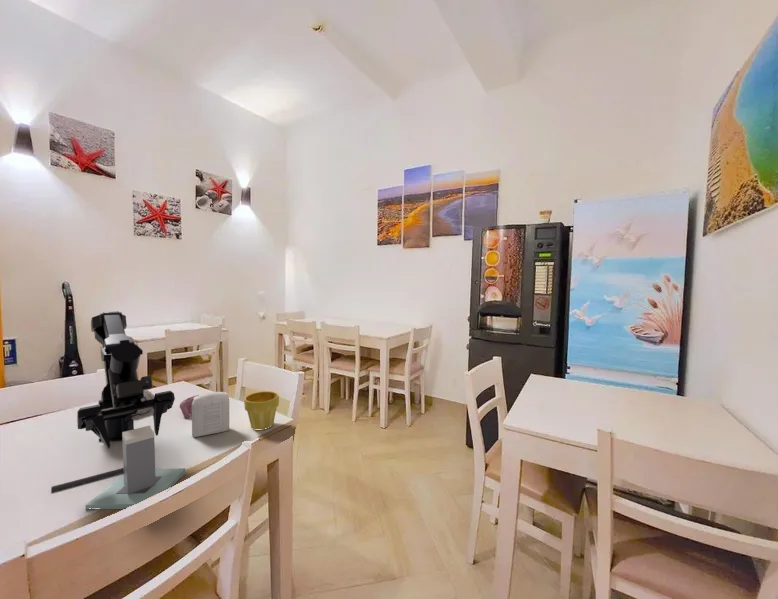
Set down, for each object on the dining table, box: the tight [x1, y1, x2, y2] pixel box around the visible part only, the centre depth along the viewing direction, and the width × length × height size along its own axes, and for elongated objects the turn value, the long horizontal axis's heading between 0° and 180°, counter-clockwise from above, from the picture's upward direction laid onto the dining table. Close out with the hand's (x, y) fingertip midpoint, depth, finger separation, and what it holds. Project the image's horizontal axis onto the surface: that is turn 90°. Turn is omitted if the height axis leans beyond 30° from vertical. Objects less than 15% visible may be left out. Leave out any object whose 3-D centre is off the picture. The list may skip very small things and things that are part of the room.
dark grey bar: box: [50, 467, 124, 493], centre depth 80 cm, size 15×1×1 cm, turn 128°
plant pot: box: [243, 390, 280, 430], centre depth 109 cm, size 10×10×10 cm
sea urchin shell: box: [132, 389, 155, 417], centre depth 119 cm, size 13×14×8 cm
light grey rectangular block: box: [121, 425, 156, 494], centre depth 76 cm, size 5×5×12 cm
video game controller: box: [179, 394, 199, 419], centre depth 119 cm, size 10×5×7 cm, turn 145°
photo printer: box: [191, 391, 230, 438], centre depth 104 cm, size 10×4×12 cm, turn 123°
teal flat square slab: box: [85, 467, 186, 510], centre depth 76 cm, size 13×13×1 cm
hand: (133, 441), depth 80 cm, fingers open, 9 cm apart
